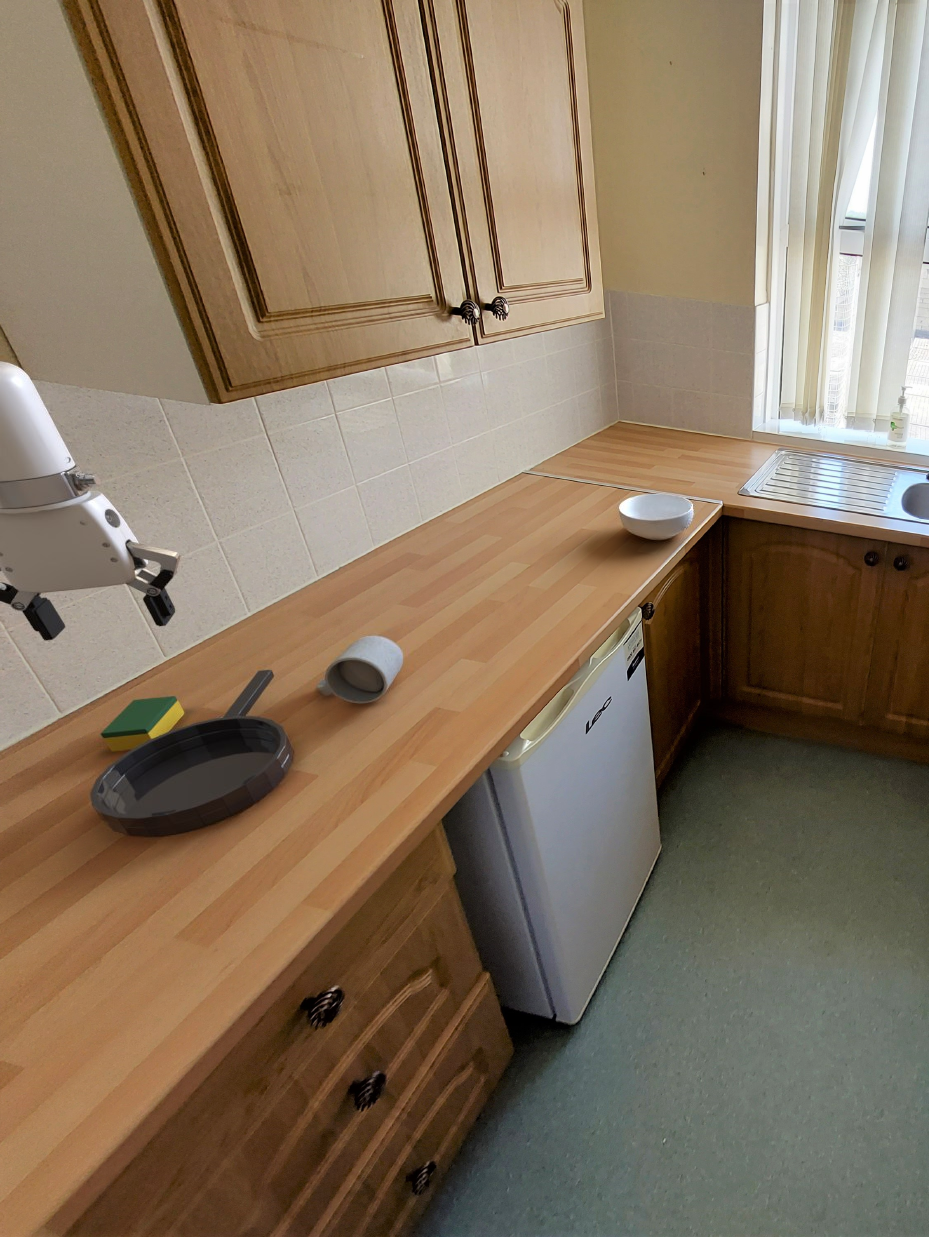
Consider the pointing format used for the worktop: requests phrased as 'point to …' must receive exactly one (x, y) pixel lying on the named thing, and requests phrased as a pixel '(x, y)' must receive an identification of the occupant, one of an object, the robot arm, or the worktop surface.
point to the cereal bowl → (656, 515)
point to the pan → (193, 776)
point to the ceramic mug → (363, 670)
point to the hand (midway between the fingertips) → (112, 627)
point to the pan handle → (250, 694)
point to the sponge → (142, 722)
